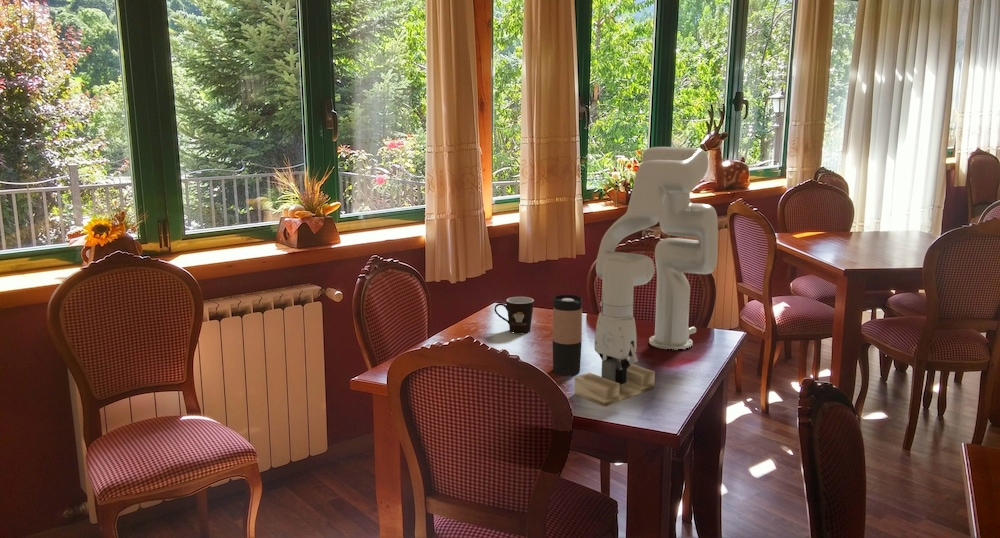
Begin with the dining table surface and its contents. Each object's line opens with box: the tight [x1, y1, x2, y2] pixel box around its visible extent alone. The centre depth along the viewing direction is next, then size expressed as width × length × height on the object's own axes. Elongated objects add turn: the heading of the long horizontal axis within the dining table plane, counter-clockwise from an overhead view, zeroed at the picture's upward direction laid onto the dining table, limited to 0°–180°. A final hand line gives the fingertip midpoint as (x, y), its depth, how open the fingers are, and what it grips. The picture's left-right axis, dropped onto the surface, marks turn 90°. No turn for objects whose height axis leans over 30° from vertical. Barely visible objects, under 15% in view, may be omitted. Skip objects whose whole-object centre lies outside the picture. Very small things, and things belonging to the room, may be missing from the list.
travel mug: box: [552, 294, 583, 377], centre depth 199 cm, size 8×8×20 cm
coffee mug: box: [493, 296, 535, 334], centre depth 237 cm, size 12×9×10 cm
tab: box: [601, 358, 628, 382], centre depth 185 cm, size 6×3×6 cm, turn 129°
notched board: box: [574, 363, 656, 407], centre depth 186 cm, size 18×10×4 cm, turn 129°
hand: (614, 381), depth 186 cm, fingers closed on tab, 3 cm apart
